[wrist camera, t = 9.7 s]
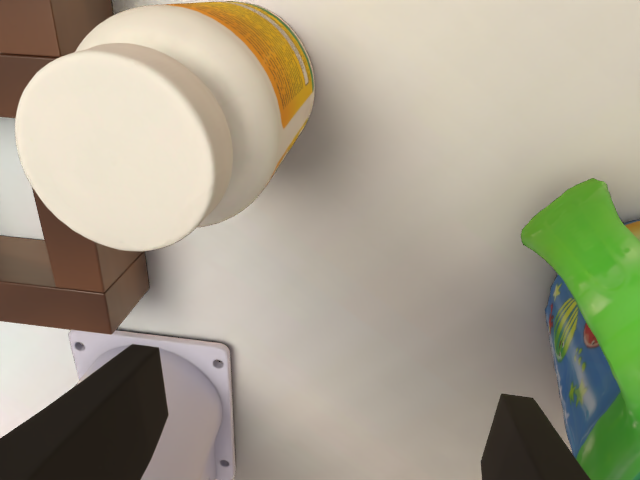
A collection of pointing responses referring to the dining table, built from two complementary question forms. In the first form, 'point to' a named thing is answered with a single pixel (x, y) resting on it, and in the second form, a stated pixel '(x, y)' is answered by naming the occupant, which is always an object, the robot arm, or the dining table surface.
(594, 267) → the snack cup
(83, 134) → the supplement bottle
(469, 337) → the dining table surface
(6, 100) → the holder
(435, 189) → the dining table surface
